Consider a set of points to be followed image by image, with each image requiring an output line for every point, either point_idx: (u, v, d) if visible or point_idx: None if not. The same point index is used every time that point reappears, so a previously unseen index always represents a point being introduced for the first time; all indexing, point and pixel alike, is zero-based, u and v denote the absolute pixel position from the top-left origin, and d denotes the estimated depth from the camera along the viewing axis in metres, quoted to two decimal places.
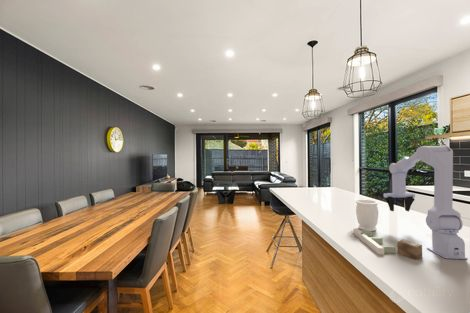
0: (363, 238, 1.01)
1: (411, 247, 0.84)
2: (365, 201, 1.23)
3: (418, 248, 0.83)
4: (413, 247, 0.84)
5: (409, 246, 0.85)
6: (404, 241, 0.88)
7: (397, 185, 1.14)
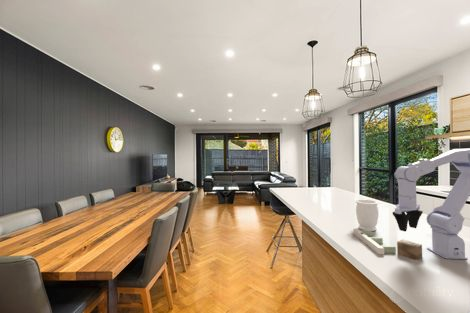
0: (363, 238, 1.01)
1: (411, 247, 0.84)
2: (365, 201, 1.23)
3: (417, 248, 0.83)
4: (413, 247, 0.84)
5: (409, 246, 0.85)
6: (404, 241, 0.88)
7: None
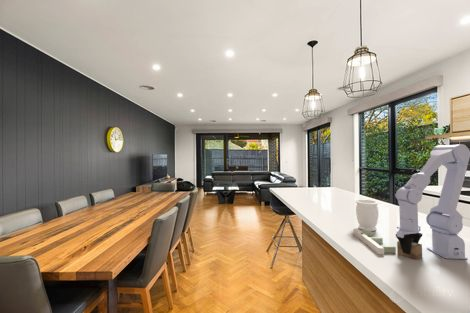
0: (363, 238, 1.01)
1: (411, 247, 0.84)
2: (365, 201, 1.23)
3: (417, 247, 0.83)
4: (413, 247, 0.84)
5: None
6: None
7: (417, 218, 0.85)
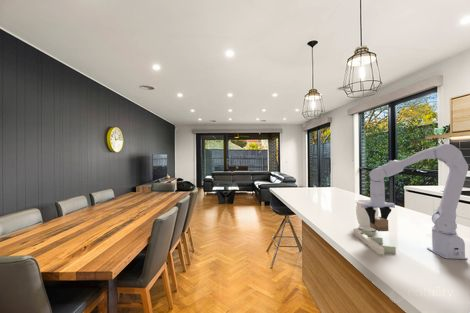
0: (363, 238, 1.01)
1: (375, 220, 0.99)
2: (365, 201, 1.23)
3: (380, 221, 0.98)
4: (376, 220, 0.99)
5: None
6: (376, 216, 1.03)
7: (382, 194, 0.99)
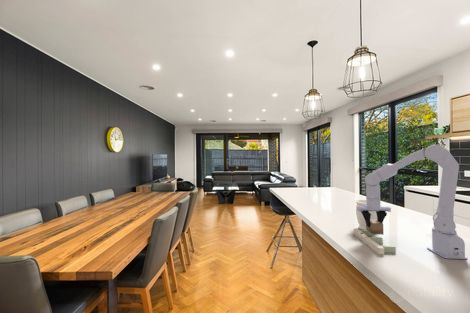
0: (363, 238, 1.01)
1: (371, 223, 1.02)
2: (365, 201, 1.23)
3: (375, 224, 1.00)
4: (371, 223, 1.02)
5: (370, 223, 1.03)
6: (372, 220, 1.05)
7: (377, 198, 1.01)
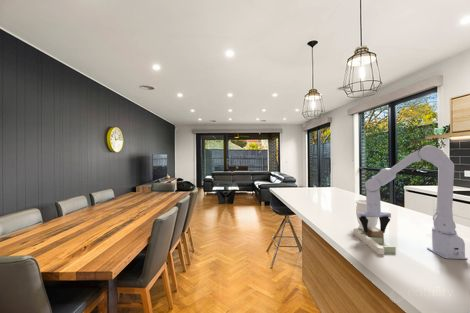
0: (363, 238, 1.01)
1: (371, 231, 1.02)
2: (365, 201, 1.23)
3: (375, 233, 1.00)
4: (372, 231, 1.01)
5: (370, 231, 1.03)
6: (372, 227, 1.05)
7: (377, 204, 1.01)
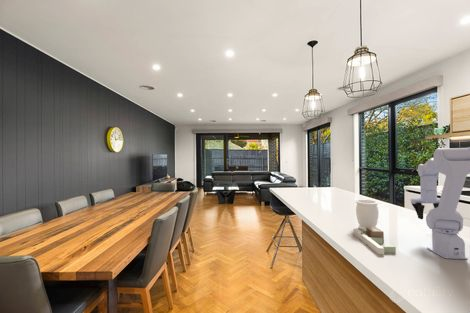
0: (363, 238, 1.01)
1: (371, 231, 1.02)
2: (365, 201, 1.23)
3: (375, 233, 1.00)
4: (372, 231, 1.01)
5: (370, 231, 1.03)
6: (372, 227, 1.05)
7: (425, 189, 1.00)
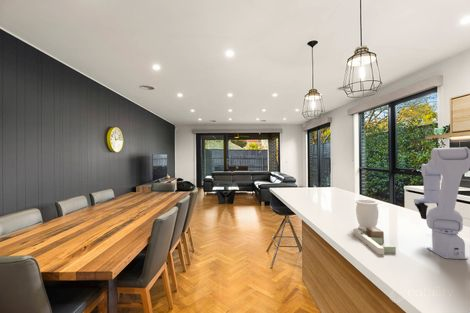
0: (363, 238, 1.01)
1: (371, 231, 1.02)
2: (365, 201, 1.23)
3: (375, 233, 1.00)
4: (372, 231, 1.01)
5: (370, 231, 1.03)
6: (372, 227, 1.05)
7: (427, 189, 1.01)
